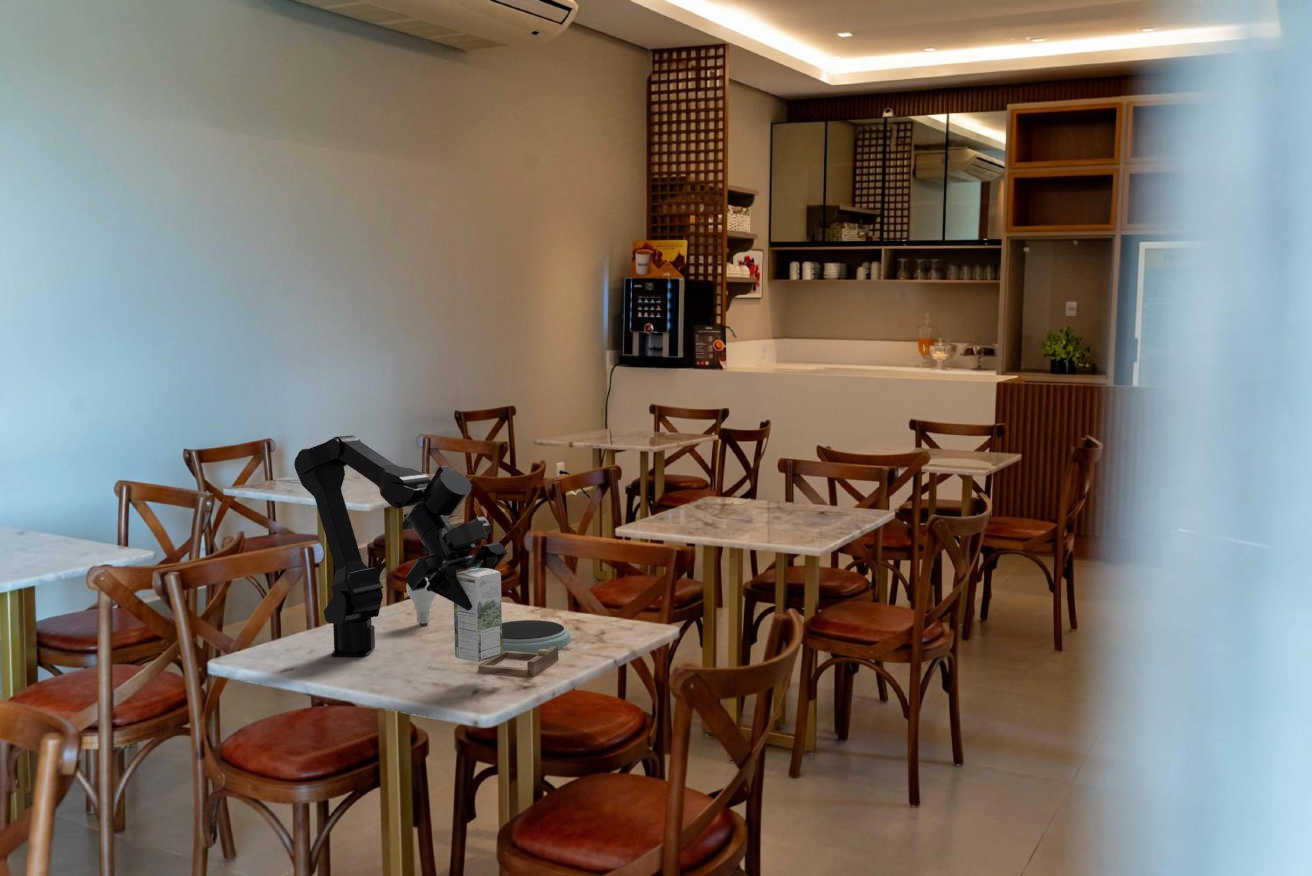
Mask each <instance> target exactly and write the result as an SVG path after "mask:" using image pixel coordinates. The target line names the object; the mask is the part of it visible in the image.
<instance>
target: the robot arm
mask: <svg viewBox="0 0 1312 876" xmlns="http://www.w3.org/2000/svg"><path fill="white" fill-rule="evenodd" d="M293 464H294V465H293V466H294V469H295V472H296V474H297V476H298V479H299V482H300V484H301V486H302V487H303V488H304V489H305V490H307V492H308V493H310V494H311V496H312V497H313V498H314V500H315V503H316V506H317V510H318V513H319V517H320V521H321V524H322V528H323V530H324V534H325V538H326V541H327V545H328V548H329V551H330V555H331V559H332V562H333V565H334V568H335V573H334V577H333V581H332V585H331V592H332V596H333V597H332V599H330V601H329V603H328V604H327V606H325V608H324V610H323V615H324V620H325V623H329V624H333V625H332V626H333V627H332V628H333V651H332V652H331V653H330V655H331V657H366V656H368V655H369V654H370V653H371V652H372V651H373V650H374V649H375V648H376V638H375V637H376V632H375V628H376V627H375V625H372V618H378V617H379V614H380V610H381V605H382V601H383V599H384V593H383V590H382V589H384V586H383V584H382V583H381V579H380V576H379V571H378V570H377V568H376V567H371V568H370V567H368V565H366V564H365V562H363V559H362V555H361V551H360V548H359V545H358V542H357V538H356V535H355V531H354V529H353V525H352V523H351V517H350V514H349V511H348V508H347V505H346V502H345V499H344V495H343V491H342V487H343V484H344V480H345V475H346V471H345V467H346V466H349V467H350V468H351V469H353V470H354V471H355V472H357V473H358V474H360V475H361V476H363V477H365V479H367V480H369V481H370V482H371V483H373V484H375V486H376V487H378V489H379V490H378V491H379V493H380V496H381V498H383V499H384V501H385V502H387V503H388V505H390V507H392V508H394V509H396V510H397V509H406V508H412V509H411V510H410V512H409V513H404V514H403V521H402V523H401V529H402V530H403V531H405V530H411V529H413V531H414V532H415V534H416V535H417V536H418V538H419V540H420V542H421V543H422V544H423V546H422V548H421V550H420V551H421V552H422V554H423V555H428V556H424V557H419V558H418V559H417V561H416V562H415V563H414V564H413V566H412V567H411V569H409V571H408V573H407V574H406V584H407V583H408V585H409V587H410V588H411V590H412V591H415V590H420V589H424V588H425V587H426V584H427V581H426V579H425V578H426V577H427V579H428V582H429V583H430V584H429V586H428V587H427V588H426V590H427V591H432V592H434V593H436V595H438V596H441V597H443V598H444V599H447V600H448V601H450V602H452V603H453V604H454V603H455V604H457V605H459V606H461V607H462V608H464V609H466V610H470V609H471V608H472V604H471V602H470V600H469V598H468V596H467V595H466V593H465V591H464V590H463V588H462V586H461V585H460V583H459V581H458V580H457V576H456V573H457V571H459V572H460V571H464V570H471V569H476V568H488V569H492V570H496V568H497V567H498V566H499V564H500V563H501V562H502V560H504V558H505V557H506V555H507V554H508V551H507V550H506V548H505V547H504V546H503V544H502V543H500V542H492V543H489V544H488V543H487V544H483V545H481V547H480V548H479V549H478V550H477V552H476V553H475V554H473V555H471V554H470V553H471V552H473V551H474V550H475V549H476V545H475V544H476V543H478V542H481V541H482V540H486V539H488V537H489V536H488V535H489V534H492V528H491V527H492V525H491V524H490V522H489V520H487V518H486V517H485V516H478V517H476V518H475V519H472V520H471V521H469V522H464V523H462V524H459V525H452V524H451V522H450V521H449V519H448V518H447V517H449V516H452V515H454V514H455V512H457V510H458V509H459V507H460V506H461V505H462V504H463V502H464V500H466V498H467V497H468V496H469V494H470V493H471V491H472V484H471V482H470V479H469V478H468V477H466V476H465V475H463V473H460V472H458V471H456V470H454V469H452V468H451V466H450V465H441V466H440V465H439V466H438V468H437V470H436V471H435V474H434V475H433V476H432V478H431V479H430V478H429V476H428V475H427V474H425V473H423V472H421V471H419V470H416V469H414V468H410V467H403V466H400V465H397V464H395V463H394V462H392V461H390V460H389V459H388V458H386V457H384V456H383V455H381V454H380V453H379V452H377V451H376V450H374V449H373V448H371V447H369V446H368V445H367V444H365V443H363V442H362V441H361V439H360V438H359V437H358V436H355V435H341V436H334V437H333V438H330V439H328V440H327V441H325V442H323V443H321V444H317V445H316V446H315V445H314V446H313V447H310V448H302V449H301V450H300V451H299V452H297V456H296V457H295V458H294V463H293Z"/></svg>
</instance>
